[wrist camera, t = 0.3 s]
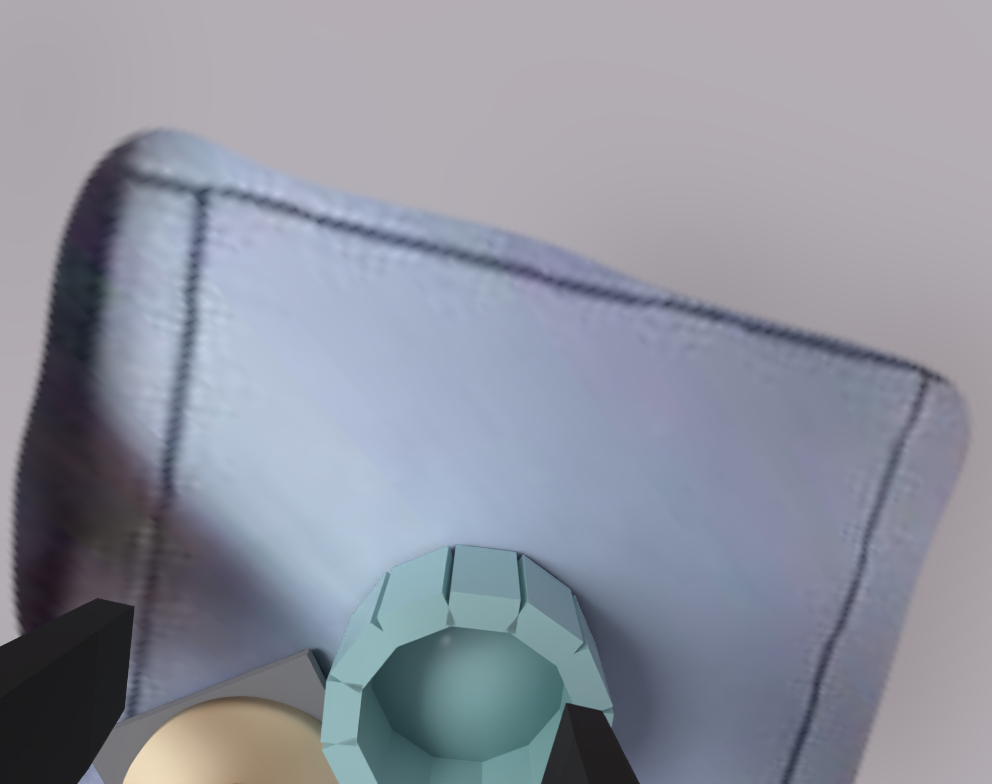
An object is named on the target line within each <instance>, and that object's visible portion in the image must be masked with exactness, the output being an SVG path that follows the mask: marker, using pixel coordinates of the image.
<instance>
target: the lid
mask: <svg viewBox="0 0 992 784" xmlns="http://www.w3.org/2000/svg"><path fill="white" fill-rule="evenodd" d="M321 730H322V723H320V722H319V721H318V720H317V719H315V718H314V717H312V716H310V715H308V714H307V713H305V712H303V711H302V710H299V709H297V708H295V707H292V706H290V705H288V704H285V703H281V702H278V701H275V700H271V699H265V698H259V697H248V696H234V697H223V698H217V699H212V700H208V701H205V702H201V703H198V704H195V705H193V706H191V707H189V708H187V709H184V710H182V711H181V712H179V713H177V714H176V715H174V716H173V717H171V718H170V719H168V720H167V721H166V722H165V723H164V724H162V725H161V726H160V727H159V728H158V729H157V730H156V731H155V732H154V734H153V735H152V736H151V737H150V738H149V739H148V741H147V742H146V744H145V745H144V747H143V748H142V749H141V751H140V752H139V754H138V755H137V757H136V758H135V760H134V761H133V763H132V764H131V766H130V767H129V770H128V772H127V774H126V776H125V778H124V781H123V784H339V782H338V780H337V779H336V777H335V775H334V773H333V771H332V769H331V767H330V765H329V763H328V761H327V759H326V757H325V755H324V753H323V751H322V747H323V744H324V743H323V742H320V740H321Z"/></svg>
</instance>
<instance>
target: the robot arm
mask: <svg viewBox="0 0 992 784" xmlns="http://www.w3.org/2000/svg"><path fill="white" fill-rule="evenodd" d="M134 607H135V606H130V605H126V604H121V603H117V602H112V601H108V600H103V599H99V598H97V599H95V600H93V601H91V602H89V603H86V604H84V605H82V606H80V607H78V608H76V609H74V610H72V611H70V612H68V613H66V614H64V615H62V616H60V617H58V618H56V619H54V620H52V621H50V622H48V623H46V624H44V625H42V626H40V627H38V628H36V629H34V630H32V631H30V632H29V633H27V634H25V635H23V636H21V637H19V638H17V639H15V640H12V641H10V642H8V643H6V644H4V645H2V646H0V784H77V783H78V782H79V781H80V779H81V778H82V777H83V775H84V774H85V773H86V771H87V770H88V769H89V767H90V765H91V764H92V762H93V761H94V759H95V757H96V756H97V754H98V753H99V751H100V749H101V748H102V746H103V745H104V743H105V741H106V740H107V738H108V736H109V735H110V733H111V731H112V730H113V728H114V726H115V724H116V723H117V721H118V719H119V718H120V716H121V714H122V713H123V711H124V709H125V700H126V689H127V679H128V669H129V658H130V648H131V638H132V627H133V617H134ZM541 784H640V783H639V781H638V780H637V778H636V776H635V774H634V772H633V770H632V768H631V766H630V764H629V762H628V760H627V758H626V756H625V754H624V752H623V750H622V748H621V746H620V744H619V742H618V740H617V738H616V736H615V734H614V732H613V730H612V728H611V726H610V724H609V722H608V720H607V718H606V716H605V715H604V713H603V711H602V710H597V709H593V708H588V707H584V706H579V705H575V704H570V703H566V704H565V707H564V710H563V714H562V717H561V720H560V723H559V727H558V730H557V733H556V736H555V740H554V743H553V746H552V749H551V752H550V756H549V759H548V762H547V765H546V769H545V772H544V775H543V778H542V782H541Z"/></svg>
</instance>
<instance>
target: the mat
mask: <svg viewBox="0 0 992 784" xmlns="http://www.w3.org/2000/svg"><path fill="white" fill-rule="evenodd" d="M325 690H326V679H325V677H324V675H323V673H322V671H321V669H320V667H319V665H318V663H317V661H316V659H315V657H314V655H313V653H312V651H311V649H310V648H309V649H306V650H304V651H301V652H298V653H296V654H293V655H291V656H288V657H286V658H283V659H280V660H278V661H275V662H273V663H270V664H268V665H265V666H262V667H260V668H257V669H255V670H252V671H250V672H247V673H244V674H242V675H239V676H237V677H234V678H232V679H229V680H226V681H224V682H221V683H219V684H216V685H214V686H211V687H208V688H206V689H203V690H201V691H198V692H196V693H193V694H190V695H188V696H185V697H183V698H180V699H178V700H175V701H172V702H170V703H167V704H165V705H162V706H160V707H157V708H154V709H152V710H149V711H147V712H144V713H142V714H139V715H136V716H134V717H131V718H129V719H126V720H124V721H121V722H118V723H116V724H115V726H114V728H113V730H112V731H111V733H110V735H109V736H108V738H107V740H106V741H105V743H104V745H103V746H102V748H101V749H100V751H99V753H98V754H97V756H96V757H95V759H94V761H93V762H92V763H93V765H94V767H95V768H96V770H97V772H98V773H99V775H100V777H101V779H102V780H103V782H104V784H123V781H124V778H125V776H126V774H127V772H128V770H129V767H130V766H131V764H132V763H133V761H134V760H135V758H136V757H137V755H138V754H139V752H140V751H141V749H142V748H143V747H144V745H145V744H146V742H147V741H148V739H149V738H150V737H151V736H152V735H153V734H154V732H155V731H156V730H157V729H158V728H159V727H160V726H161V725H162V724H164V723H165V722H166V721H167V720H168V719H170V718H171V717H173V716H174V715H176V714H177V713H179V712H181V711H182V710H184V709H187V708H189V707H191V706H193V705H195V704H198V703H201V702H205V701H208V700H212V699H217V698H223V697H234V696H248V697H259V698H265V699H271V700H275V701H278V702H281V703H285V704H288V705H290V706H292V707H295V708H297V709H299V710H302V711H303V712H305V713H307V714H308V715H310V716H312V717H314V718H315V719H317V720H318V721H319V722H320V723H322V720H323V710H324V700H325Z"/></svg>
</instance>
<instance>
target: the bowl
mask: <svg viewBox="0 0 992 784" xmlns="http://www.w3.org/2000/svg"><path fill="white" fill-rule="evenodd" d="M566 703H570V704H575V705H579V706H584V707H588V708H593V709H597V710H602V711H603V713H604V715H605V716H606V718H607V720H608V722H609V724H610V726H611V728H612V722H613V717H614V712H613V709H612V707H613V704H612V701H611V697H610V693H609V690H608V686H607V682H606V679H605V675H604V672H603V668H602V664H601V661H600V657H599V654H598V650H597V646H596V644H595V641H594V639H593V636H592V634H591V632H590V629H589V627H588V625H587V622H586V620H585V617H584V615H583V613H582V610H581V608H580V606H579V603H578V601H577V598H576V596H575V595H572V593H571V589H570V588H568V587H567V586H566V585H564V584H563V583H561V582H560V581H559V580H557V579H556V578H555V577H553V576H552V575H550V574H549V573H548V572H546V571H545V570H544V569H542V568H541V567H539V566H538V565H537V564H535V563H534V562H533V561H531V560H530V559H528V558H527V557H526V556H524V555H522V557H521V558H520V559H519V560H518V562H517V555H516V552H513V551H504V550H496V549H488V548H480V547H472V546H464V545H456V548H455V555H454V557H453V555H452V552H451V550H450V548H449V546H446V547H443V548H441V549H438V550H436V551H433V552H431V553H428V554H425V555H423V556H420V557H418V558H415V559H413V560H410V561H408V562H405V563H403V564H400V565H397V566H395V567H393V568H392V571H391V574H389V573H388V572H386V573H385V575H384V576H383V577H382V578H381V580H380V581H379V582H378V583H377V585H376V586H375V587H374V588H373V590H372V591H371V592H370V593H369V595H368V596H367V597H366V599H365V600H364V601H363V602H362V604H361V605H360V606H359V607H358V609H357V610H356V611H355V612H354V614H353V615H352V616H351V619H350V621H349V623H348V626H347V629H346V631H345V634H344V636H343V639H342V642H341V644H340V647H339V649H338V652H337V655H336V657H335V660H334V662H333V665H332V668H331V670H330V673H329V675H328V678H327V681H326V690H325V700H324V710H323V720H322V730H321V740H320V742H323V743H324V744H323V747H322V751H323V753H324V755H325V757H326V759H327V761H328V763H329V765H330V767H331V769H332V771H333V773H334V775H335V777H336V779H337V780H338V782H339V784H541V782H542V778H543V775H544V772H545V769H546V765H547V762H548V759H549V756H550V752H551V749H552V746H553V743H554V740H555V736H556V733H557V730H558V727H559V723H560V720H561V717H562V714H563V710H564V707H565V704H566Z"/></svg>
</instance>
